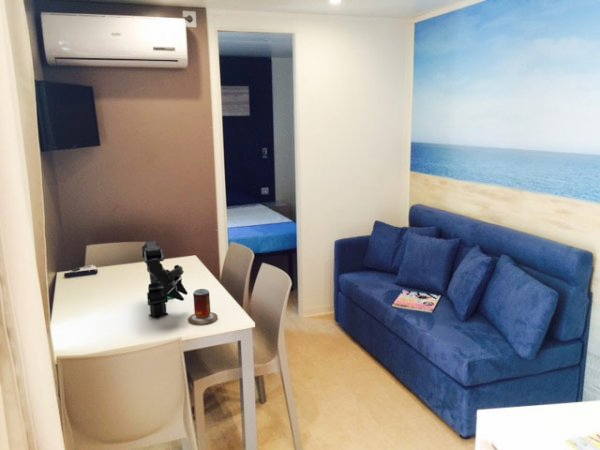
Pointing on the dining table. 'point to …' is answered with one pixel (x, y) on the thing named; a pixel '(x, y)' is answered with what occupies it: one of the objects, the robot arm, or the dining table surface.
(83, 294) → the dining table surface
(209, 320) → the brown rimmed plate
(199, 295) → the soda can
